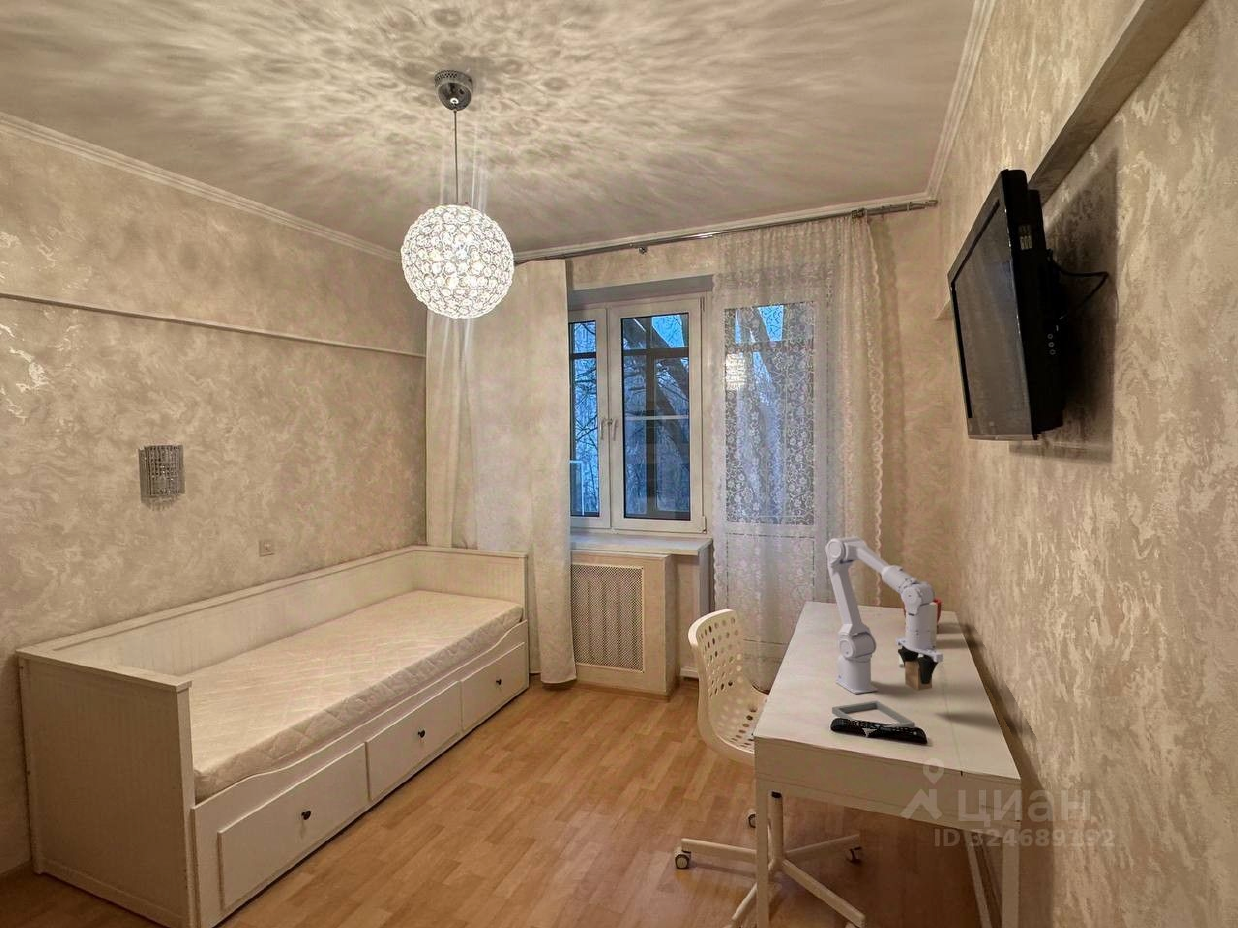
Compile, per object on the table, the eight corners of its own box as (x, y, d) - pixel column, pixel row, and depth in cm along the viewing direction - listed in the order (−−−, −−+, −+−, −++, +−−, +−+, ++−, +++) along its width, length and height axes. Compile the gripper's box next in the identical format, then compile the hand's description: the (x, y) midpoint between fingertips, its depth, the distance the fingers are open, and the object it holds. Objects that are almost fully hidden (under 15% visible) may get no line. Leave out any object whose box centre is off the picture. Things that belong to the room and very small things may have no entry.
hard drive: (928, 667, 188) (925, 654, 199) (899, 663, 191) (898, 651, 202) (928, 672, 188) (925, 659, 199) (899, 669, 191) (898, 656, 202)
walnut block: (905, 683, 160) (905, 661, 160) (919, 681, 161) (919, 659, 161) (917, 690, 156) (917, 667, 156) (932, 688, 157) (932, 665, 157)
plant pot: (945, 636, 220) (944, 603, 220) (905, 633, 224) (905, 601, 224) (937, 625, 233) (937, 595, 233) (900, 623, 237) (900, 593, 237)
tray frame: (832, 712, 160) (832, 707, 160) (876, 705, 163) (876, 700, 163) (866, 737, 146) (866, 731, 146) (914, 728, 150) (914, 722, 150)
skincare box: (904, 642, 215) (904, 599, 214) (918, 639, 217) (918, 597, 216) (924, 649, 207) (923, 604, 206) (938, 647, 209) (938, 602, 209)
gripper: (952, 635, 152) (952, 688, 153) (910, 619, 166) (910, 668, 167) (929, 638, 150) (930, 691, 151) (889, 622, 164) (889, 671, 165)
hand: (918, 679), depth 158 cm, fingers closed on walnut block, 4 cm apart
